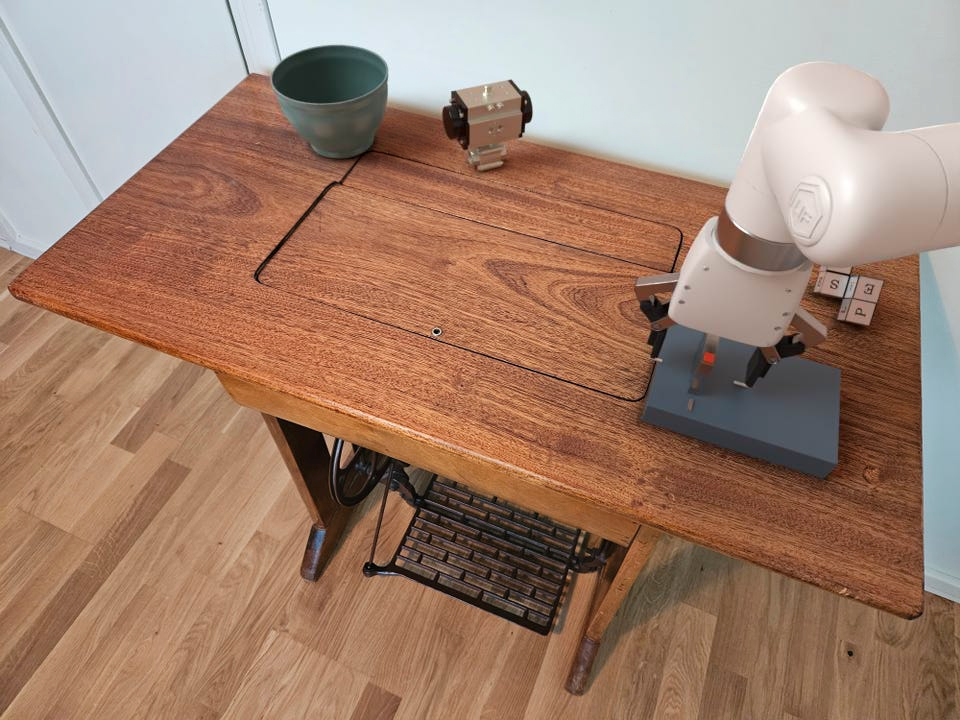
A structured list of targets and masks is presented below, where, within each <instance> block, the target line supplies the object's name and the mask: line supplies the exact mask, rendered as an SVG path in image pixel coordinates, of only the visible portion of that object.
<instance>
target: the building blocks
mask: <svg viewBox="0 0 960 720" xmlns="http://www.w3.org/2000/svg"><path fill="white" fill-rule="evenodd" d="M853 269H854V266H853V267H845V268H831V267H825V266H821V265H820V267H819V270H818V274H817V276H816V279H815V283H814V287H813V290H812V294H814V295H815V294H816V295H820V296H824V297H830V298H834V299H838V300H842V302H841V306H840V308H839V312H838V314H837V318H836V320H837V321H840V322H844V323H848V324H854V325H858V326H865V327H871V325H872V323H873V319H874V315H875V312H876V310H877V306H878V303H879V300H880V297H881V293H882V291H883V287H884V284H885V281H886V280H885V279H883V278H880V277H879V278H878V277H874V276H868V275H863V274H852V273H853Z"/></svg>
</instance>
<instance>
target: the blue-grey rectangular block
mask: <svg viewBox="0 0 960 720" xmlns="http://www.w3.org/2000/svg"><path fill="white" fill-rule="evenodd" d="M703 334H704V332H702V331H698V330H695V329H692V328H688V327H685V326H683V325H680V324H676V325H673V326H671V327H669V328H668V330H667V334H666V337H665V340H664V342H663V345H662V347H661V350H660V353H659V355H658V358H655V359H653V358H650V355H649V356H648V360H650V361H654V362H656V364H655V366H654V370H653V374H652V378H651V382H650V386H649V389H648V393H647V397H646V401H645V404H644V407H643V412H642V416H641V419H640V421H641V422H642V423H646V424H648V425H652V426H655V427H659V428H661V429H664V430H668V431H671V432H674V433H678V434H680V435H684V436H687V437H690V438H692V439H695V440H699V441H702V442H705V443H709V444H712V445H716V446H718V447H721V448H724V449H728V450H731V451H734V452H737V453H741V454H743V455H747V456H750V457H753V458H756V459H760V460H762V461H766V462H768V463H772V464H775V465H778V466H782V467H785V468H788V469H791V470H794V471H797V472H800V473H803V474H807V475H808V476H809V475H810V476H813V477H815V478H816V477H817V478H819V479H822V480H824V479H825V478H826V477H827V476H828V475H829V474H830V473H831V472H832V471H833V470H834V469H835V468H836V467H837V466H838V463H839V440H840V439H839V437H840V436H839V435H840V410H841V409H840V408H841V382H842V381H841V377H842V376H841V375H842V369H840V368H837V367H834V366H830V365H827V364H824V363H820V362H816V361H812V360H809V359H805V358H802V357H798V356H791V357H787V358H782V359H781V361H780V363H778V364H772V366H771V367H770V369H769V371H768V372H767V374H766V375H765V377H764V378H761V377H758V379H757V381H756V382H755V384H754V385H753V387H752V388H751V387H748V386H746V384H745V378H746V372H747V365H748V362H749V360H750V359H751V357H752V355H753V353H754V352H755V350H756V348H757V347H758V346H753V345H749V344H745V343H741V342H738V341H734V340H730V339H727V338H723V337H720V338H719V343H718V348H717V353H716V358H715V363H714V367H713V369H712V371H711V373H710V375H709V376H708V378H707V380H706V382H705V384H704V386H703V388H702V390H701V392H700V394H699V395H695V394H692V393H688V392H687V389H688V385H689V380H690V376H691V371H692V367H693V362H694V358H695V354H696V349H697V347H698V345H699V343H700V341H701V338H702V336H703Z"/></svg>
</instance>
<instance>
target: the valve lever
mask: <svg viewBox="0 0 960 720" xmlns="http://www.w3.org/2000/svg"><path fill="white" fill-rule="evenodd" d="M719 338H720V337H719V336H716V335H712V334H709V333H705V332H704V334H703V336H702V338H701V341H700V343H699V345H698V347H697V349H696V354H695V358H694V362H693V367H692V371H691V376H690V380H689V385H688V389H687V392H688V393H692V394H695V395H699V394H700V392H701V390H702V388H703V386H704V384H705V382H706V380H707V378H708V376H709V375H710V373H711V371H712V369H713V367H714V363H715V358H716V353H717V348H718V343H719Z"/></svg>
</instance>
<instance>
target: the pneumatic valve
mask: <svg viewBox="0 0 960 720" xmlns="http://www.w3.org/2000/svg"><path fill="white" fill-rule="evenodd" d="M448 101H449V103H450V104H449V105H444V106H443V107H442V112H441V113H442V114H441V116H442V124H443V128H444V132H445V134H446V136H447V138H448V139H449V140H451V141H452V140H453V141H454V140H456V141H457V142H458V144H459V145H460V147H461V148H462V150H463V151H467V152H466V155H467V161H468V163H469V165H471V167H473V166H476V169H477V171H479V172H484V171H488V170H489V171H490V170H493V169H497V168H500V167H502V166H503V164H504V161H503V160H504V159H506V157H507V148H506V145H505V143H504V142H508V141H512V140H516V139H521V138H523V136H524V135H523V134H525V132H526V125H527V124H530V123H531V122H532V120H533V116H534V109H533V102H532V98H531V96H530V94H529V92H528V91H527V90H525V89H523V90H521V89H520V87H519V86H518V85H517V84H516V83H515V82H514V80H512V79H507V80H502V81H497V82H491V83H486V84H481V85H476V86H470V87H467V88H462V89H456V90H451V91H450V98H449V100H448Z"/></svg>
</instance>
